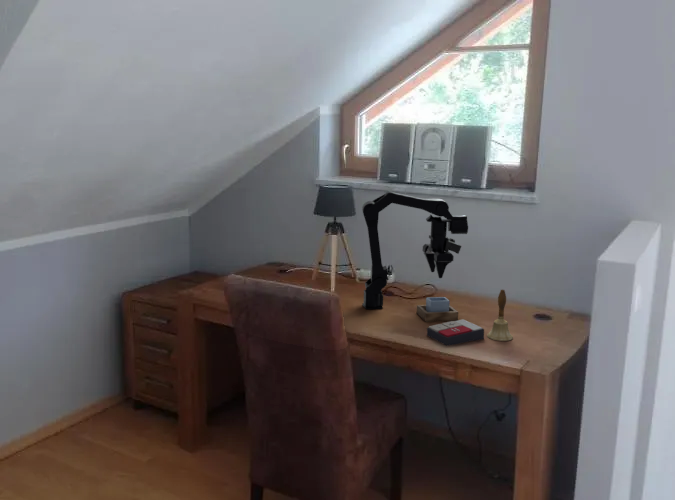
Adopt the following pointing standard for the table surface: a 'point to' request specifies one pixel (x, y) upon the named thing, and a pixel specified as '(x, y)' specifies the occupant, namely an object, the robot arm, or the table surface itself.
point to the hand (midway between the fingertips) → (436, 275)
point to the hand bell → (500, 322)
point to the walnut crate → (437, 314)
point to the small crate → (437, 304)
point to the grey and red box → (455, 332)
